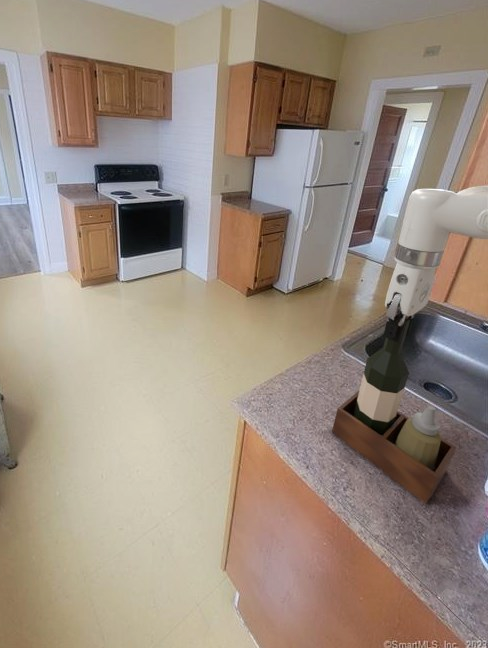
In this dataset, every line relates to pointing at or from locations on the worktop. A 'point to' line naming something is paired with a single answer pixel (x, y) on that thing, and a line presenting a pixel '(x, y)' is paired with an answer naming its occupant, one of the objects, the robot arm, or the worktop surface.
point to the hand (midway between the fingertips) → (395, 335)
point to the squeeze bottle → (421, 437)
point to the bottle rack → (391, 451)
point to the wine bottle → (383, 385)
